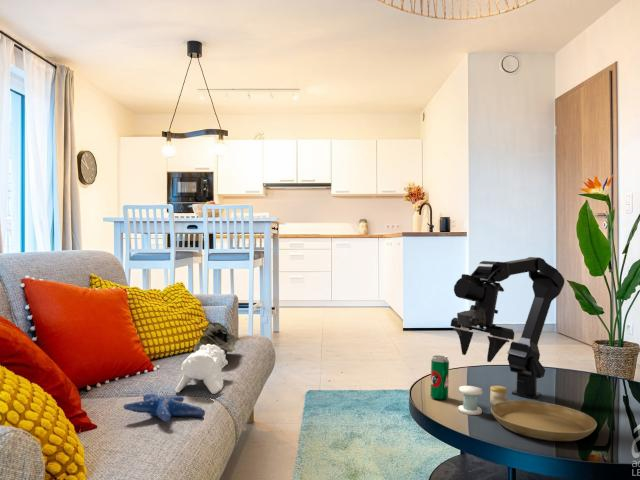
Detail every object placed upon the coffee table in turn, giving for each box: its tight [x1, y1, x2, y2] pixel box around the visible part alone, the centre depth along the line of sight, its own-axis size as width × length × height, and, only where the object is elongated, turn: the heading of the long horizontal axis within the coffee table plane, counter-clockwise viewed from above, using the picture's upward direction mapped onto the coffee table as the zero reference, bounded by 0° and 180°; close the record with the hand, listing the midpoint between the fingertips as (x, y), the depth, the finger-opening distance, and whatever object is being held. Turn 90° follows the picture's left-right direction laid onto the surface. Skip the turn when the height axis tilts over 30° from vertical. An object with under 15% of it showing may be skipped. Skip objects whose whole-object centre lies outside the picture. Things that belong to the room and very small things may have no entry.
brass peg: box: [489, 385, 508, 405], centre depth 142 cm, size 4×4×4 cm
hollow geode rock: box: [193, 321, 238, 356], centre depth 186 cm, size 28×13×15 cm
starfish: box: [123, 393, 206, 422], centre depth 124 cm, size 19×19×5 cm
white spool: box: [458, 385, 483, 416], centre depth 134 cm, size 6×6×6 cm
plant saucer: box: [490, 400, 598, 442], centre depth 124 cm, size 24×24×3 cm
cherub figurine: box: [174, 344, 229, 395], centre depth 150 cm, size 13×12×20 cm
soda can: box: [429, 354, 450, 401], centre depth 145 cm, size 5×5×12 cm
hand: (475, 358), depth 141 cm, fingers open, 9 cm apart
